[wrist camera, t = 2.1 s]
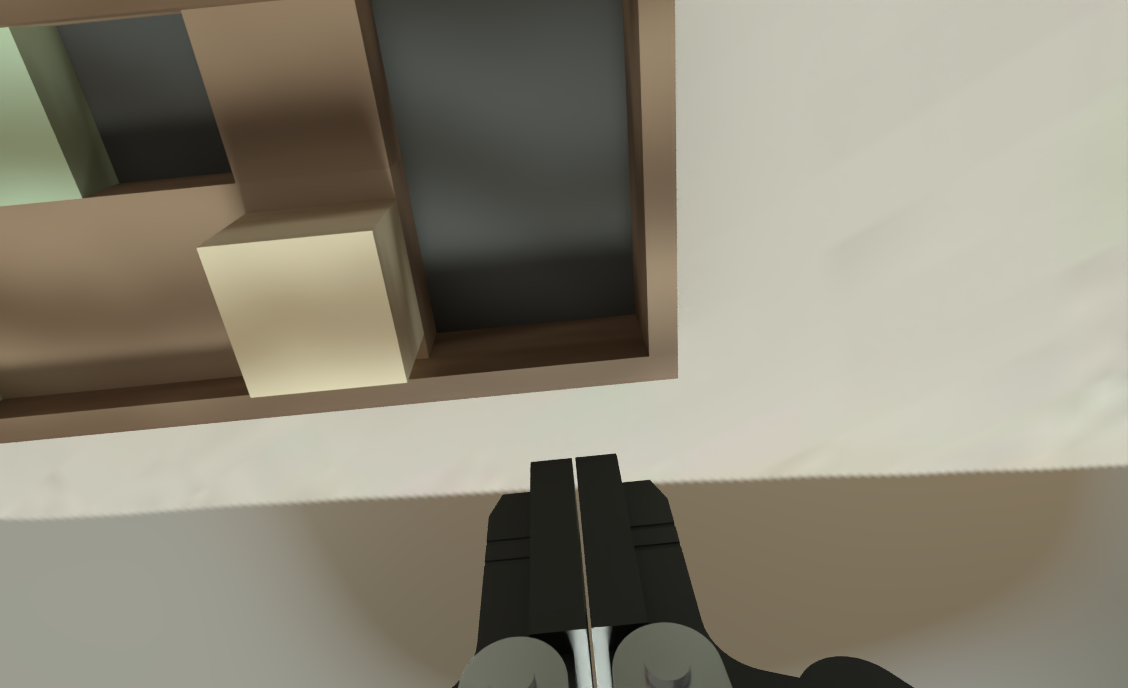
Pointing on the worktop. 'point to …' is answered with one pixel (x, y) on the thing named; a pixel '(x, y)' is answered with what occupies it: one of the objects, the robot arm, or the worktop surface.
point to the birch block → (316, 297)
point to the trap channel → (330, 192)
